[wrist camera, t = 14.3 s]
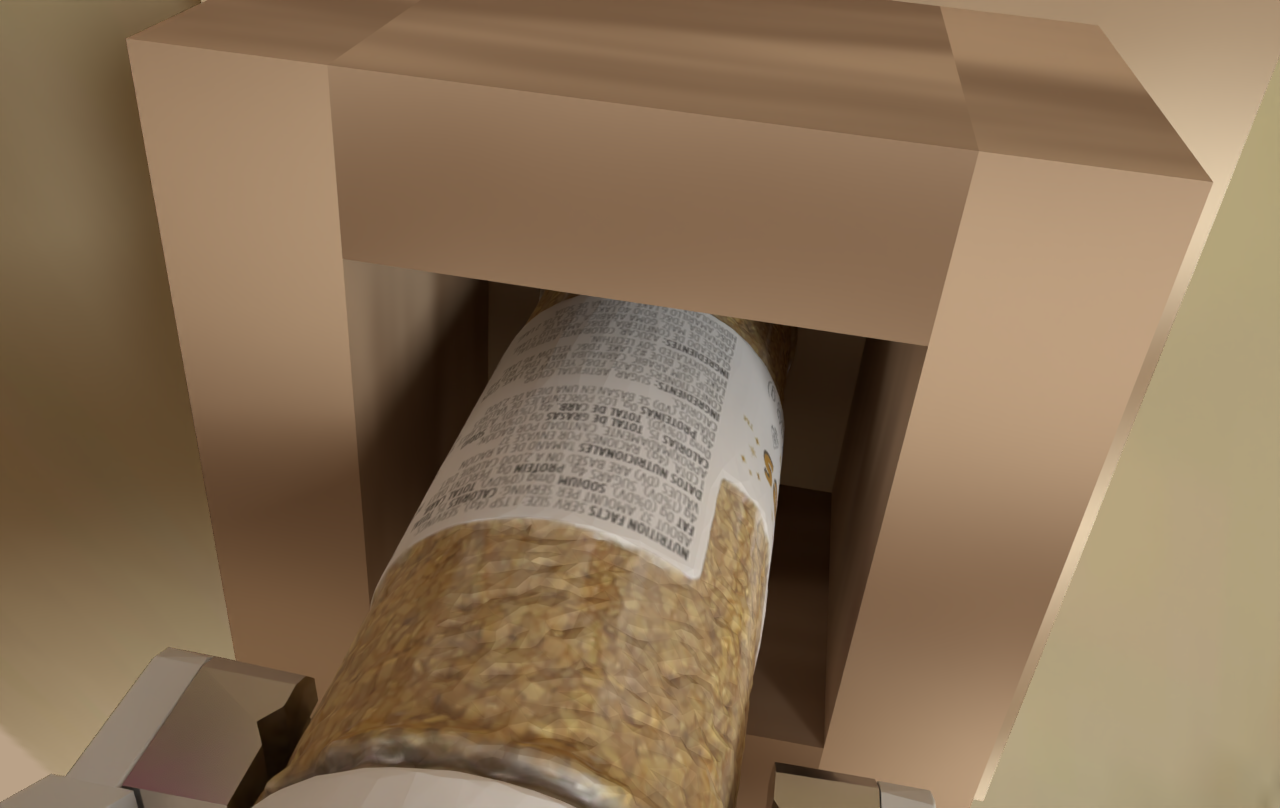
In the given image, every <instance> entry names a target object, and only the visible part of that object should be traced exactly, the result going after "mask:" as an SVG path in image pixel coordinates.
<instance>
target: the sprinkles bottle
mask: <svg viewBox="0 0 1280 808" xmlns="http://www.w3.org/2000/svg"><path fill="white" fill-rule="evenodd" d="M797 329H798V327H795V326H788V325H781V324H775V323H768V322H761V321H755V320H748V319H741V318H735V317H728V316H721V315H714V314H708V313H701V312H694V311H688V310H681V309H674V308H668V307H661V306H654V305H648V304H641V303H634V302H627V301H621V300H614V299H607V298H601V297H594V296H587V295H581V294H574V293H567V292H560V291H554V290H547V289H540V295H539V299H538V304H537V306H536V308H535V310H534V311H533V313H532V314H531V316H530V317H529V319H528V321H527V323H526V325H525V326H524V327H523V328H522V330H521V331H520V332H519V333H518V334H517V335H516V336H515V338H514V339H513V341H512V342H511V344H510V345H509V347H508V349H507V350H506V352H505V353H504V355H503V357H502V359H501V360H500V362H499V364H498V366H497V368H496V369H495V371H494V373H493V375H492V377H491V379H490V380H489V382H488V384H487V386H486V387H485V389H484V391H483V393H482V395H481V396H480V398H479V400H478V402H477V403H476V405H475V407H474V409H473V410H472V412H471V414H470V416H469V418H468V419H467V421H466V423H465V425H464V427H463V428H462V430H461V432H460V434H459V436H458V437H457V439H456V441H455V443H454V445H453V446H452V448H451V450H450V452H449V454H448V455H447V457H446V459H445V461H444V462H443V464H442V466H441V467H440V469H439V471H438V473H437V475H436V477H435V478H434V480H433V482H432V484H431V486H430V488H429V490H428V491H427V493H426V495H425V497H424V499H423V501H422V502H421V504H420V506H419V508H418V510H417V512H416V513H415V515H414V517H413V519H412V521H411V523H410V525H409V526H408V528H407V530H406V532H405V534H404V536H403V537H402V539H401V541H400V543H399V545H398V547H397V549H396V550H395V552H394V554H393V556H392V558H391V560H390V561H389V563H388V565H387V567H386V569H385V571H384V573H383V574H382V576H381V578H380V580H379V582H378V584H377V586H376V588H375V591H374V594H373V598H372V601H371V606H370V611H369V612H368V614H367V616H366V618H365V619H364V621H363V623H362V624H361V626H360V628H359V630H358V632H357V634H356V636H355V638H354V640H353V642H352V644H351V646H350V648H349V650H348V652H347V654H346V656H345V657H344V659H343V662H342V664H341V666H340V667H339V669H338V670H337V673H336V675H335V677H334V679H333V681H332V683H331V684H330V686H329V688H328V689H327V691H326V692H325V694H324V696H323V698H322V700H321V702H320V704H319V706H318V708H317V709H316V711H315V713H314V714H313V716H312V718H311V721H310V724H309V726H308V727H307V729H306V730H305V732H304V734H303V735H302V737H301V739H300V740H299V742H298V744H297V746H296V748H295V750H294V752H293V754H292V756H291V758H290V760H289V762H288V765H287V768H285V769H284V770H282V771H281V772H280V773H278V774H277V775H275V776H274V777H273V778H271V779H270V780H269V781H268V782H267V784H266V786H265V788H264V790H263V792H262V793H261V794H260V796H259V797H258V799H257V801H256V802H255V804H254V806H253V807H251V808H736V804H737V795H738V791H739V784H740V777H741V765H742V758H743V753H744V748H745V737H746V729H747V721H748V712H749V704H750V703H749V697H750V692H751V689H752V685H753V675H754V671H755V666H756V662H757V657H758V653H759V649H760V644H761V637H762V631H763V625H764V619H765V612H766V602H767V592H768V578H769V570H770V562H771V555H772V547H773V539H774V527H775V517H776V510H777V501H778V492H779V483H780V474H781V465H782V456H783V445H784V430H785V426H784V415H783V409H782V407H783V401H784V389H785V385H786V379H787V377H788V374H789V371H790V369H791V366H792V363H793V360H794V357H795V351H796V345H797V340H798V336H797Z"/></svg>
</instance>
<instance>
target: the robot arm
mask: <svg viewBox="0 0 1280 808" xmlns="http://www.w3.org/2000/svg"><path fill="white" fill-rule="evenodd" d="M317 702H318V696H317V690H316V684H315V679H314V678H312V677H308V676H304V675H300V674H295V673H290V672H286V671H281V670H276V669H272V668H267V667H262V666H258V665H253V664H249V663H244V662H239V661H235V660H230V659H225V658H221V657H216V656H211V655H206V654H201V653H196V652H191V651H186V650H181V649H175V648H170V647H168V648H166V649H165V650H164V651H162V652H161V653H159V654H158V655H156V656H155V657H154V658H152V660H151V661H150V662H149V664H148V665H147V666H146V668H145V669H144V670H143V672H142V673H141V674H140V676H139V677H138V678H137V680H136V681H135V683H134V684H133V685H132V687H131V688H130V689H129V691H128V692H127V693H126V695H125V696H124V697H123V699H122V700H121V702H120V703H119V704H118V706H117V707H116V708H115V710H114V711H113V712H112V714H111V715H110V716H109V718H108V719H107V721H106V722H105V723H104V725H103V726H102V727H101V729H100V730H99V731H98V733H97V734H96V735H95V737H94V738H93V740H92V741H91V742H90V744H89V745H88V746H87V748H86V749H85V750H84V752H83V753H82V754H81V756H80V757H79V758H78V760H77V761H76V763H75V764H74V765H73V767H72V768H71V769H70V771H69V772H68V773H67V775H66V776H61V775H55V774H50V775H48V776H46V777H45V778H43V779H41V780H39V781H37V782H36V783H34V784H32V785H30V786H28V787H27V788H25V789H23V790H21V791H19V792H18V793H16V794H14V795H12V796H10V797H9V798H7V799H5V800H3V801H2V802H0V808H251V807H253V806H254V804H255V802H256V801H257V799H258V797H259V796H260V794H261V793H262V792H263V790H264V788H265V786H266V784H267V782H268V781H269V780H270V779H271V778H273V777H274V776H275V775H277V774H278V773H280V772H281V771H282V770H284V769H285V768H287V765H288V762H289V760H290V758H291V756H292V754H293V752H294V750H295V748H296V746H297V744H298V742H299V740H300V739H301V737H302V735H303V734H304V732H305V730H306V729H307V727H308V726H309V724H310V721H311V718H310V716H311V714H312V712H313V710H314V708H315V706H316V704H317ZM766 808H936V804H935V799H934V797H933V795H932V793H931V791H930V790H925V789H920V788H914V787H909V786H904V785H898V784H893V783H887V782H882V781H877V782H876V780H875V779H872V778H866V777H860V776H855V775H849V774H843V773H837V772H832V771H826V770H820V769H814V768H808V767H803V766H797V765H791V764H785V763H780V762H775V763H774V765H773V768H772V771H771V775H770V780H769V784H768V792H767V803H766Z"/></svg>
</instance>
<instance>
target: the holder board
mask: <svg viewBox="0 0 1280 808" xmlns="http://www.w3.org/2000/svg"><path fill="white" fill-rule="evenodd" d="M126 43H127V49H128V54H129V60H130V65H131V71H132V77H133V82H134V88H135V94H136V99H137V105H138V111H139V116H140V122H141V128H142V133H143V139H144V144H145V150H146V156H147V161H148V167H149V173H150V178H151V184H152V190H153V195H154V201H155V207H156V212H157V218H158V224H159V229H160V235H161V240H162V246H163V252H164V257H165V263H166V269H167V274H168V280H169V286H170V291H171V297H172V303H173V308H174V314H175V319H176V325H177V331H178V336H179V342H180V348H181V353H182V359H183V365H184V370H185V376H186V382H187V387H188V393H189V399H190V404H191V410H192V415H193V421H194V427H195V432H196V438H197V444H198V449H199V455H200V461H201V466H202V472H203V478H204V483H205V489H206V495H207V500H208V506H209V511H210V517H211V523H212V528H213V534H214V540H215V545H216V551H217V557H218V562H219V568H220V574H221V579H222V585H223V590H224V596H225V602H226V607H227V613H228V619H229V624H230V630H231V636H232V641H233V647H234V653H235V658H236V661H239V662H244V663H249V664H253V665H258V666H262V667H267V668H272V669H276V670H281V671H286V672H290V673H295V674H300V675H304V676H308V677H312V678H314V679H315V684H316V690H317V696H318V702H317V704H316V706H315V708H314V710H313V712H312V714H311V716H310V718H312V716H313V714H314V713H315V711H316V709H317V708H318V706H319V704H320V702H321V700H322V698H323V696H324V694H325V692H326V691H327V689H328V688H329V686H330V684H331V683H332V681H333V679H334V677H335V675H336V673H337V670H338V669H339V667H340V666H341V664H342V662H343V659H344V657H345V656H346V654H347V652H348V650H349V648H350V646H351V644H352V642H353V640H354V638H355V636H356V634H357V632H358V630H359V628H360V626H361V624H362V623H363V621H364V619H365V618H366V616H367V614H368V612H369V611H370V606H371V601H372V598H373V594H374V591H375V588H376V586H377V584H378V582H379V580H380V578H381V576H382V574H383V573H384V571H385V569H386V567H387V565H388V563H389V561H390V560H391V558H392V556H393V554H394V552H395V550H396V549H397V547H398V545H399V543H400V541H401V539H402V537H403V536H404V534H405V532H406V530H407V528H408V526H409V525H410V523H411V521H412V519H413V517H414V515H415V513H416V512H417V510H418V508H419V506H420V504H421V502H422V501H423V499H424V497H425V495H426V493H427V491H428V490H429V488H430V486H431V484H432V482H433V480H434V478H435V477H436V475H437V473H438V471H439V469H440V467H441V466H442V464H443V462H444V461H445V459H446V457H447V455H448V454H449V452H450V450H451V448H452V446H453V445H454V443H455V441H456V439H457V437H458V436H459V434H460V432H461V430H462V428H463V427H464V425H465V423H466V421H467V419H468V418H469V416H470V414H471V412H472V410H473V409H474V407H475V405H476V403H477V402H478V400H479V398H480V396H481V395H482V393H483V391H484V389H485V387H486V386H487V384H488V382H489V380H490V379H491V377H492V375H493V373H494V371H495V369H496V368H497V366H498V364H499V362H500V360H501V359H502V357H503V355H504V353H505V352H506V350H507V349H508V347H509V345H510V344H511V342H512V341H513V339H514V338H515V336H516V335H517V334H518V333H519V332H520V331H521V330H522V328H523V327H524V326H525V325H526V323H527V321H528V319H529V317H530V316H531V314H532V313H533V311H534V310H535V308H536V306H537V304H538V299H539V295H540V289H547V290H554V291H560V292H567V293H574V294H581V295H587V296H594V297H601V298H607V299H614V300H621V301H627V302H634V303H641V304H648V305H654V306H661V307H668V308H674V309H681V310H688V311H694V312H701V313H708V314H714V315H721V316H728V317H735V318H741V319H748V320H755V321H761V322H768V323H775V324H781V325H788V326H795V327H798V329H797V336H798V340H797V345H796V351H795V357H794V360H793V363H792V366H791V369H790V371H789V374H788V377H787V379H786V385H785V389H784V401H783V407H782V409H783V415H784V426H785V430H784V445H783V456H782V465H781V474H780V483H779V492H778V501H777V510H776V517H775V527H774V539H773V547H772V555H771V562H770V570H769V578H768V592H767V602H766V612H765V619H764V625H763V631H762V637H761V644H760V649H759V653H758V657H757V662H756V666H755V671H754V675H753V685H752V689H751V692H750V697H749V703H750V704H749V712H748V721H747V729H746V737H745V748H744V753H743V758H742V765H741V777H740V784H739V791H738V795H737V804H736V808H766V803H767V792H768V784H769V780H770V775H771V771H772V768H773V765H774V763H775V762H780V763H785V764H791V765H797V766H803V767H808V768H814V769H820V770H826V771H832V772H837V773H843V774H849V775H855V776H860V777H866V778H872V779H875V780H876V782H877V781H882V782H887V783H893V784H898V785H904V786H909V787H914V788H920V789H925V790H930V791H931V793H932V795H933V797H934V799H935V804H936V808H970V806H971V804H972V801H973V799H975V800H980V801H983V800H984V798H985V795H986V793H987V790H988V788H989V785H990V783H991V780H992V778H993V775H994V773H995V770H996V768H997V765H998V763H999V760H1000V758H1001V755H1002V753H1003V750H1004V748H1005V745H1006V743H1007V740H1008V738H1009V735H1010V733H1011V730H1012V728H1013V725H1014V723H1015V720H1016V718H1017V715H1018V713H1019V710H1020V708H1021V705H1022V703H1023V700H1024V697H1025V695H1026V692H1027V690H1028V687H1029V685H1030V682H1031V680H1032V677H1033V675H1034V672H1035V670H1036V667H1037V665H1038V662H1039V660H1040V657H1041V655H1042V652H1043V650H1044V647H1045V645H1046V642H1047V640H1048V637H1049V635H1050V632H1051V630H1052V627H1053V625H1054V622H1055V620H1056V617H1057V615H1058V612H1059V610H1060V607H1061V605H1062V602H1063V599H1064V597H1065V594H1066V592H1067V589H1068V587H1069V584H1070V582H1071V579H1072V577H1073V574H1074V572H1075V569H1076V567H1077V564H1078V562H1079V559H1080V557H1081V554H1082V552H1083V549H1084V547H1085V544H1086V542H1087V539H1088V537H1089V534H1090V532H1091V529H1092V527H1093V524H1094V522H1095V519H1096V517H1097V514H1098V512H1099V509H1100V507H1101V504H1102V501H1103V499H1104V496H1105V494H1106V491H1107V489H1108V486H1109V484H1110V481H1111V479H1112V476H1113V474H1114V471H1115V469H1116V466H1117V464H1118V461H1119V459H1120V456H1121V454H1122V451H1123V449H1124V446H1125V444H1126V441H1127V439H1128V436H1129V434H1130V431H1131V429H1132V426H1133V424H1134V421H1135V419H1136V416H1137V414H1138V411H1139V409H1140V406H1141V404H1142V401H1143V398H1144V396H1145V393H1146V391H1147V388H1148V386H1149V383H1150V381H1151V378H1152V376H1153V373H1154V371H1155V368H1156V366H1157V363H1158V361H1159V358H1160V356H1161V353H1162V351H1163V348H1164V346H1165V343H1166V341H1167V338H1168V336H1169V333H1170V331H1171V328H1172V326H1173V323H1174V321H1175V318H1176V316H1177V313H1178V311H1179V308H1180V306H1181V303H1182V300H1183V298H1184V295H1185V293H1186V290H1187V288H1188V285H1189V283H1190V280H1191V278H1192V275H1193V273H1194V270H1195V268H1196V265H1197V263H1198V260H1199V258H1200V255H1201V253H1202V250H1203V248H1204V245H1205V243H1206V240H1207V238H1208V235H1209V233H1210V230H1211V228H1212V225H1213V223H1214V220H1215V218H1216V215H1217V213H1218V210H1219V208H1220V205H1221V202H1222V200H1223V197H1224V195H1225V192H1226V190H1227V187H1228V185H1229V182H1230V180H1231V177H1232V175H1233V172H1234V170H1235V167H1236V165H1237V162H1238V160H1239V157H1240V155H1241V152H1242V150H1243V147H1244V145H1245V142H1246V140H1247V137H1248V135H1249V132H1250V130H1251V127H1252V125H1253V122H1254V120H1255V117H1256V115H1257V112H1258V110H1259V107H1260V104H1261V102H1262V99H1263V97H1264V94H1265V92H1266V89H1267V87H1268V84H1269V82H1270V79H1271V77H1272V74H1273V72H1274V69H1275V67H1276V64H1277V62H1278V59H1279V57H1280V0H201V3H200V4H198V5H196V6H194V7H192V8H190V9H187V10H185V11H183V12H181V13H179V14H177V15H175V16H173V17H170V18H168V19H166V20H164V21H162V22H160V23H158V24H155V25H153V26H151V27H149V28H147V29H145V30H143V31H140V32H138V33H136V34H134V35H132V36H130V37H128V38H126Z"/></svg>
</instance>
